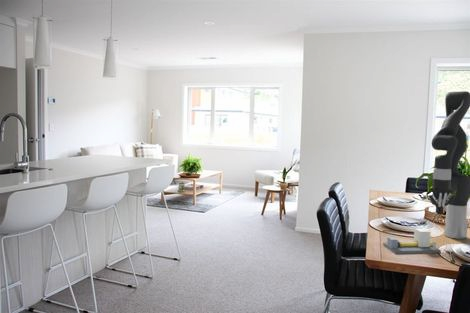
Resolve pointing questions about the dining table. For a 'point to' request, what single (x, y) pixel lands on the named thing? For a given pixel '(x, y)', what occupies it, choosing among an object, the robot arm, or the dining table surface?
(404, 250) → the linear slide rail
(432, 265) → the dining table surface
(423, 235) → the sleeve
